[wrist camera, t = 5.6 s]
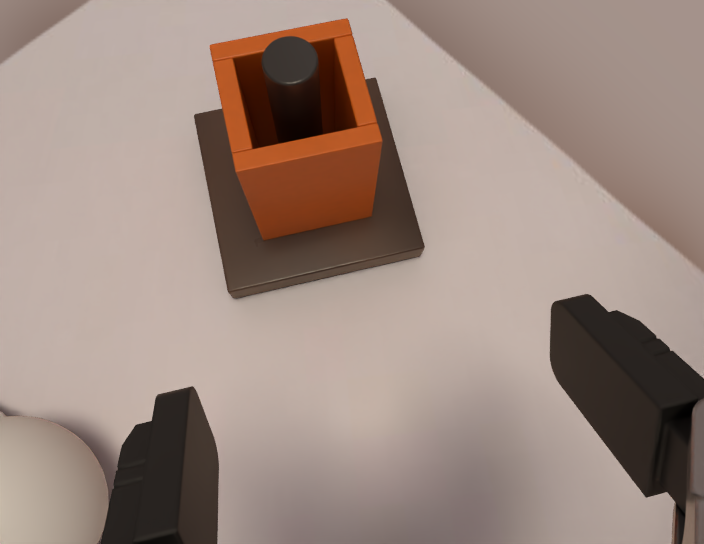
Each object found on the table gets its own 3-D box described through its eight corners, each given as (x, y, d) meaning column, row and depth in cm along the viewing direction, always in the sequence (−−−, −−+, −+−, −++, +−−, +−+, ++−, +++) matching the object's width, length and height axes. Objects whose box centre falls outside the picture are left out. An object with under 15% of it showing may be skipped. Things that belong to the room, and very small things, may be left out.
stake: (374, 92, 33) (391, -79, 22) (421, 256, 31) (467, 156, 20) (199, 127, 32) (126, -31, 21) (233, 299, 30) (169, 221, 19)
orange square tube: (346, 120, 31) (348, 17, 23) (371, 216, 30) (382, 141, 22) (242, 142, 31) (208, 43, 23) (263, 240, 29) (235, 172, 21)
